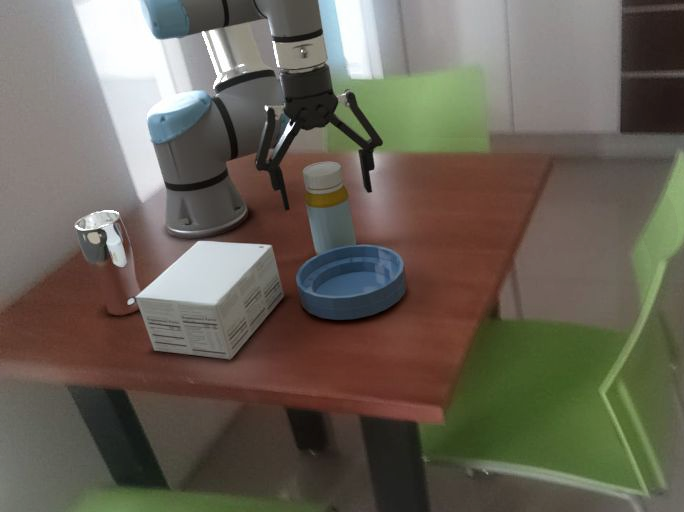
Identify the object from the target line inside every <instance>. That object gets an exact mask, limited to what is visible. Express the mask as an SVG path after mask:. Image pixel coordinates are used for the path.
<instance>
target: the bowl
mask: <svg viewBox="0 0 684 512" xmlns="http://www.w3.org/2000/svg"><path fill="white" fill-rule="evenodd" d="M295 281H296V282H295V283H296V286H297V291H298V297H299V299H300V304H301V307H302V308H303V309H304V310H305V311H306V312H307V313H309V314H311V315H313V316H316V317H318V318H321V319H327V320H332V321H333V320H334V321H344V320H356V319H361V318H367V317H369V316H370V317H371V316H374V315H376V314H378V313H381V312H383V311H386V310H388V309H389V308H391V307H392V306H394V305H395V304H397V303H398V302H399V301H400V300H401V299H402V297H404V295H405V293H406V290H407V285H408V284H407V275H406V268H405V262H404V260H403V257H402V256H401V254H399V253H398V252H396V251H395V250H393V249H391V248H388V247H385V246H381V245H376V244H375V245H374V244H356V245H350V246H344V247H339V248H334V249H331V250H328V251H326V252H323V253H320V254H318V255H317V254H316V255H314V256H313V257H311V258H309V259H308V260H307V261H305V262H304V263H303V264H302V265H301V266H300V267H299V268H298V270H297V273H296V275H295Z"/></svg>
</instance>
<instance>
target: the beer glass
mask: <svg viewBox="0 0 684 512" xmlns="http://www.w3.org/2000/svg"><path fill="white" fill-rule="evenodd" d="M73 226H74V229H75V232H76V236H77V240H78V243H79V246H80V250H81V253H82V255H83V257H84V260H85V262H86V264H87V265H88V268H89V269H90V271H91V272H92V274H93V276H94V277H95V279H96V280H97V282H98V284H99V286H100V288H101V290H102V292H103V296H104V300H105V306H106V311H107V313H108V314H109V315H112V316H117V317H119V316H126V315H130V314H133V313H135V312H138V311H140V308H139V306H138V303H137V300H136V298H135V297H136V296H137V295H138V294H140V293H141V292H142V291H143V290H142V289H141V287H140V285H139V282H138V279H137V274H136V265H135V259H134V253H133V248H132V244H131V240H130V237H129V235H128V231H127V229H126V227H125V225H124V223H123V220H122V218H121V215H120V213H119V212H117V211H114V210H102V211H96V212H92V213H90V214H86V215H84V216H83V217H81V218H79V219H78V220H77V221H75V222H74V225H73Z"/></svg>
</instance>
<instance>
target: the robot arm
mask: <svg viewBox="0 0 684 512" xmlns="http://www.w3.org/2000/svg"><path fill="white" fill-rule="evenodd" d="M319 3H320V2H319V0H138V7H139V10H140V13H141V17H142V20H143V22H144V24H145V26H146V29H147V32H148V33H149V34H150V36H151V37H153V38H154V39H155V40H158V41H166V40H172V39H183V38H185V37H189V36H192V35H197V34H200V33H201V34H202V36H203V38H204V41H205V44H206V46H207V50H208V53H209V55H210V59H211V61H212V64H213V67H214V70H215V73H216V75H217V76H216V77H217V78H216V80H215V81H214V83H213V87H212V88H213V92H214V94H215V95H214V96H211V95H210V94H209V93H208V92H207V91H205V90H199V89H197V90H195V89H194V90H192V91H185V92H181V93H180V92H179V93H176V94H175V95H172V96H169V97H167V98H164V99H162V100H161V101H159V102H158V103H156V104H155V105H154V106H153V107H152V108H151V109H149V111H148V113H147V116H146V121H147V122H146V123H147V128H148V134H149V140H150V142H151V143H152V146H153V149H154V154H155V156H156V159H157V162H158V166H159V169H160V173H161V176H162V180H163V183H164V187H165V192H166V193H165V214H164V216H165V218H164V220H165V226H166V229H167V232H168V233H169V234H170V235H172V236H174V237H177V238H181V239H204V238H209V237H215V236H218V235H221V234H223V233H226V232H229V231H231V230H233V229H235V228H237V227H239V226H240V225H241V224H242V223H244V222H245V221H246V220H247V218H248V216H249V210H248V207H247V203H246V201H245V199H244V197H243V196H242V194H241V193H240V191H239V189H238V188H237V186H236V184H235V183H234V182H233V180H232V179H231V177H230V174H229V173H230V172H229V170H228V164H227V162H230V161H233V160H237V159H240V158H244V157H247V156H250V155H254V154H256V155H255V159H254V166H255V168H256V170H257V171H258V172H261V171H264V172H267V173H268V176H269V180H270V184H271V187H272V189H273V191H274V192H277V191H279V193H280V197H281V201H282V206H283V208H284V211H285V212H286V211H291V207H290V203H289V198H288V193H287V188H286V184H285V179H284V175H283V170H282V168H281V166H280V165H281V163H282V161H283V159H284V157H285V156H286V154H287V153H288V150H289V149H290V147H291V145H292V144H293V142H294V140H295V138H296V137H297V136H298V135H299V133H300V132H301V130H305V131H306V132H308V131H312V130H314V129H322V128H326V126H327V125H329V123H330V124H331V125H332V126H334V127H335V128H337V129H338V130H339V131H340V132H342V133H343V134H344V135H345V136H346V137H348V138H349V139H350V140H351V141H353V142H354V143H355V144H356V145H358V146H359V147H360V148H361V149H357V151H358V158H359V164H360V170H361V175H362V176H361V177H362V184H363V189H364V190H365V192H367V194H370V193H373V187H372V181H371V175H370V172H371V171H372V172H373V171H374V170H375V168H376V165H375V159H374V151H375V149H377V148H378V147H382V146H383V144H384V140H383V139H382V137H381V136H380V135H379V134H378V132H377V131H376V129H375V128H374V126H373V125H372V123H371V122H370V121H369V120H368V118H367V116H366V115H365V114H364V112H363V110H362V109H361V108H360V107H359V104H358V102H357V98H356V94H355V93H354V92H353V91H352V89H350V88H346V89H345V90H344V92H341V93H337V94H335V92H334V88H333V82H332V81H333V80H332V76H331V70H330V66H329V65H328V63H326V62H327V61H328V59H329V58H328V51H327V46H326V42H325V41H326V39H325V36H324V30H323V29H324V28H323V23H322V17H321V10H320V4H319ZM261 20H267V21H268V26H269V31H270V35H271V36H270V37H271V40H272V46H273V50H274V56H275V60H276V66H277V68H278V69H280V71H279V73H278V77H279V78H277V76H276V72H275V70H274V68H272V67H271V66H269V65H267V64H265V63H264V62H263V60H262V57H261V53H260V51H259V48H258V46H257V45H258V44H257V42H256V40H255V37H254V33H253V32H252V31H253V30H252V28H251V25H250V23H252V22H255V21H261ZM339 103H341V104H342V105H343V106H344V108H349V110H350V111H351V113H352V114H353V116H354V117H355V118H356V120H357V121H358V123H359V124H360V125H361V127H362V129H364V130H365V132H366V133H367V135H368V137H369V139H367V140H366V138H364V137H363V136H362V135H360V133H358V131H356V130H355V129H353V127H351V126H350V125H348V123H346V122H345V121H344V120H342V118H340V117H339V116H338V115H337V114H336V113H335V112H336V109H337V108H338V105H339ZM270 150H273V151H272V153H271V154H270V155H269V151H270ZM268 155H269V158H268Z"/></svg>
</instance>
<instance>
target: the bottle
mask: <svg viewBox="0 0 684 512" xmlns="http://www.w3.org/2000/svg"><path fill="white" fill-rule="evenodd" d="M302 177H303V182H304V185H305V186H304V187H305V190H306V192H305V197H304V200H305V206H306V211H307V216H308V222H309V226H310V232H311V237H312V241H313V247H314V251H315V254H316V255H318V254H320V253H323V252H326V251H328V250H331V249H334V248H339V247H344V246H350V245H357V239H356V232H355V227H354V220H353V214H352V209H351V202H350V197H349V191H348V190H347V188H346V186H345V185H344V184H345V183H344V179H343V178H344V176H343V170H342V166H341V164H340V163H338V162H336V161H320V162H315V163H311V164H309V165H307V166H305V167H304V168H303V170H302Z"/></svg>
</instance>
